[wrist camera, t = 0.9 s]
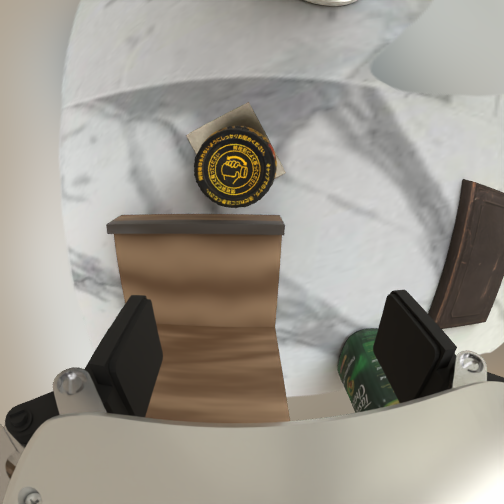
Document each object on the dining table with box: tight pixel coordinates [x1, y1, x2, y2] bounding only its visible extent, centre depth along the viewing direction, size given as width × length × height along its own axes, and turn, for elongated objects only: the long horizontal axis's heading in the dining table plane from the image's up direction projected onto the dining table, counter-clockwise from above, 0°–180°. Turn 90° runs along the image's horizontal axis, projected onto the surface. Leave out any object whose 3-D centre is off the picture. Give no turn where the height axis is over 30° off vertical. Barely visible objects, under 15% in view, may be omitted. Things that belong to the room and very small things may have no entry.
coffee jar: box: [338, 328, 399, 413], centre depth 29 cm, size 10×8×19 cm
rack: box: [106, 214, 290, 423], centre depth 24 cm, size 14×18×18 cm
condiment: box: [186, 102, 285, 208], centre depth 22 cm, size 7×8×12 cm
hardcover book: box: [428, 179, 504, 329], centre depth 33 cm, size 16×23×2 cm
